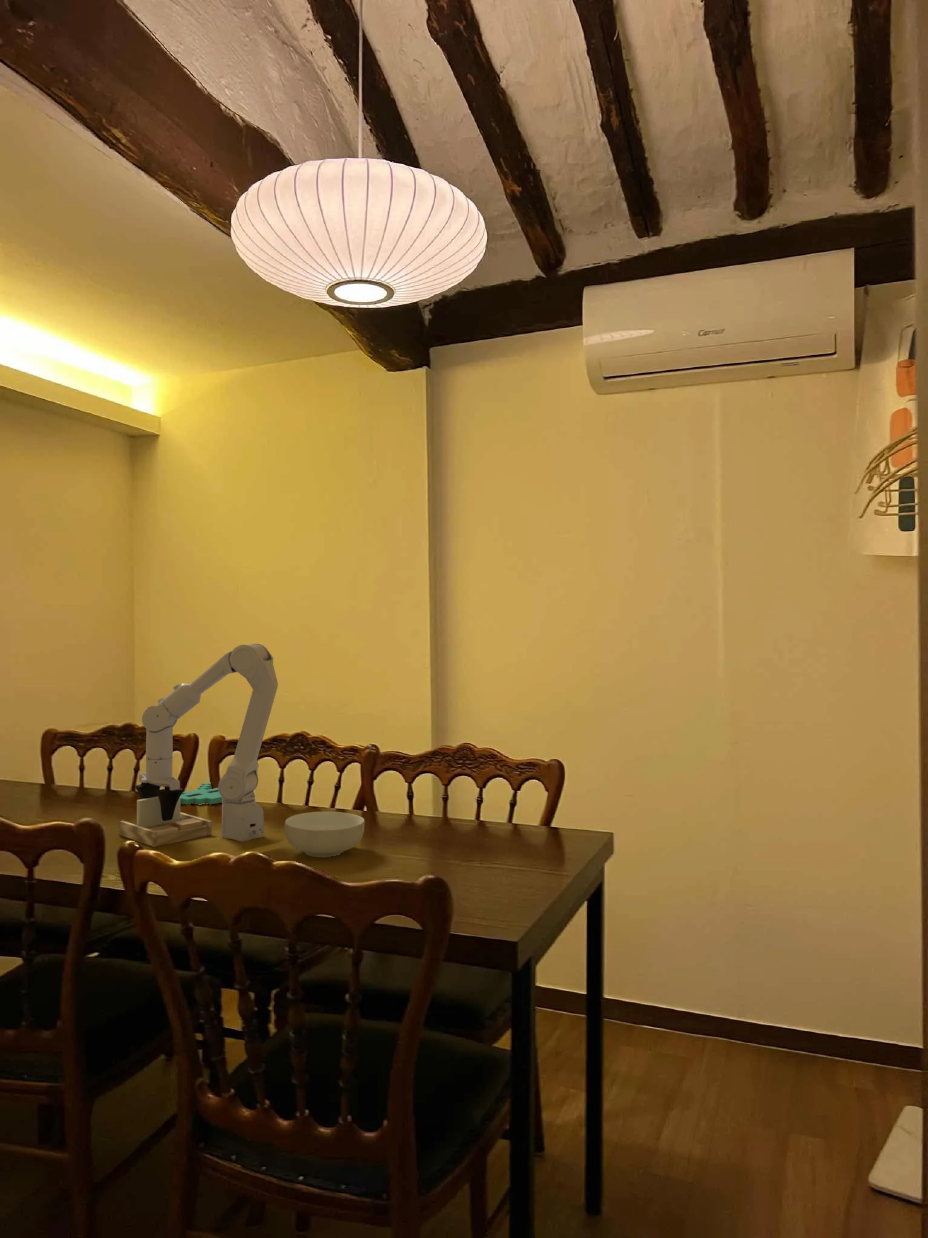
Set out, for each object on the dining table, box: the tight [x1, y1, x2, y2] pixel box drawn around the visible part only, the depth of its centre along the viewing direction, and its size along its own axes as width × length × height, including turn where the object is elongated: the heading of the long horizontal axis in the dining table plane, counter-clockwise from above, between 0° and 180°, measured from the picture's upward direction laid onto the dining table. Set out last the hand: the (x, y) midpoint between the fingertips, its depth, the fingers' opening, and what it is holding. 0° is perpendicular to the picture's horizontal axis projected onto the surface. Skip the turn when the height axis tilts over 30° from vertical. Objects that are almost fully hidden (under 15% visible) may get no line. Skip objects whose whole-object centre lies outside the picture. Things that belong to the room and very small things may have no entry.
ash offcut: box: [150, 825, 178, 835], centre depth 185 cm, size 4×5×2 cm
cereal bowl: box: [284, 811, 366, 858], centre depth 179 cm, size 17×17×7 cm
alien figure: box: [180, 782, 222, 804], centre depth 233 cm, size 20×2×20 cm
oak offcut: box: [172, 818, 202, 831], centre depth 189 cm, size 4×5×3 cm
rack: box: [118, 811, 213, 848], centre depth 189 cm, size 15×14×4 cm
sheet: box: [136, 797, 181, 827], centre depth 191 cm, size 1×10×8 cm, turn 139°
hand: (158, 817), depth 191 cm, fingers open, 7 cm apart
